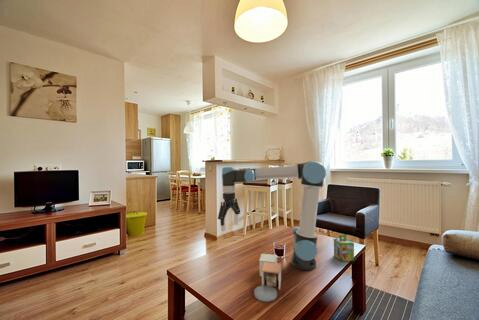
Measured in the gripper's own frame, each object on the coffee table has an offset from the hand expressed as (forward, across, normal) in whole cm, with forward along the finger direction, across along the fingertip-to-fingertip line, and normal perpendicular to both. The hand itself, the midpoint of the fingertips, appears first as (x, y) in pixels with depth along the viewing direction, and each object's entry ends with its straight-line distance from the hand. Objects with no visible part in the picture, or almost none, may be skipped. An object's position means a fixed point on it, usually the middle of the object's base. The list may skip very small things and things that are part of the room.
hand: (230, 227), depth 129 cm
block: (+26, +1, +27) cm, 37 cm away
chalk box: (+26, -49, +56) cm, 79 cm away
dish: (+26, +11, +28) cm, 40 cm away
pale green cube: (+26, -8, +21) cm, 34 cm away
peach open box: (+26, +1, +27) cm, 37 cm away
